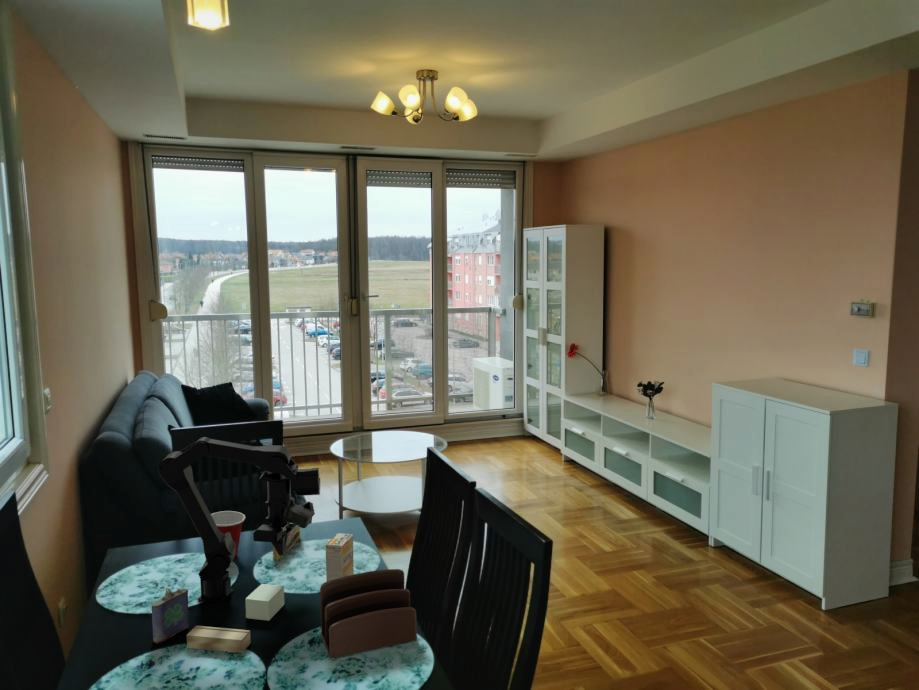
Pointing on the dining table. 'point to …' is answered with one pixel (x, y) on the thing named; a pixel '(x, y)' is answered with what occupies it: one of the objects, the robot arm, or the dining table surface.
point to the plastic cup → (230, 524)
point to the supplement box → (339, 557)
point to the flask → (170, 614)
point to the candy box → (289, 541)
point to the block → (264, 602)
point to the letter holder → (366, 613)
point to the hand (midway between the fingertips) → (281, 554)
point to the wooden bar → (218, 639)
